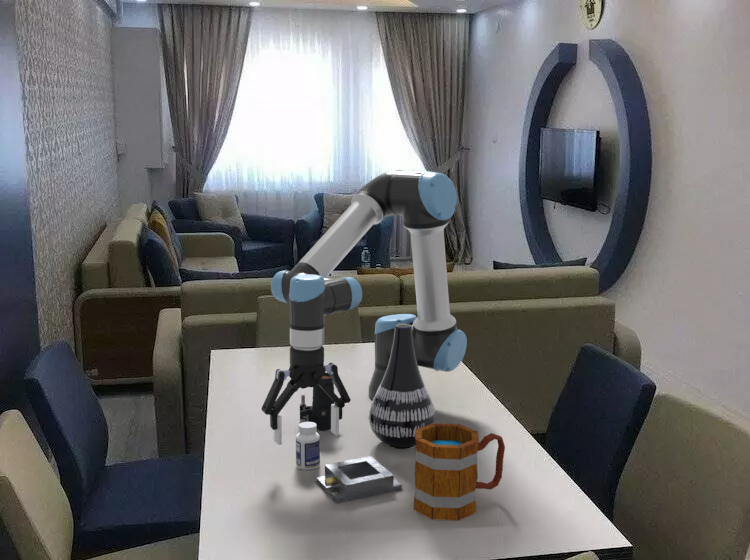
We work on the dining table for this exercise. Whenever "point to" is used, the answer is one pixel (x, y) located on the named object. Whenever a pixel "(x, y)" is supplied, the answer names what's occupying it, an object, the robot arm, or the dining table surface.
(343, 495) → the coupler block
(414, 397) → the vase
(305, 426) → the pill bottle
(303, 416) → the scope
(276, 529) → the dining table surface
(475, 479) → the mug
